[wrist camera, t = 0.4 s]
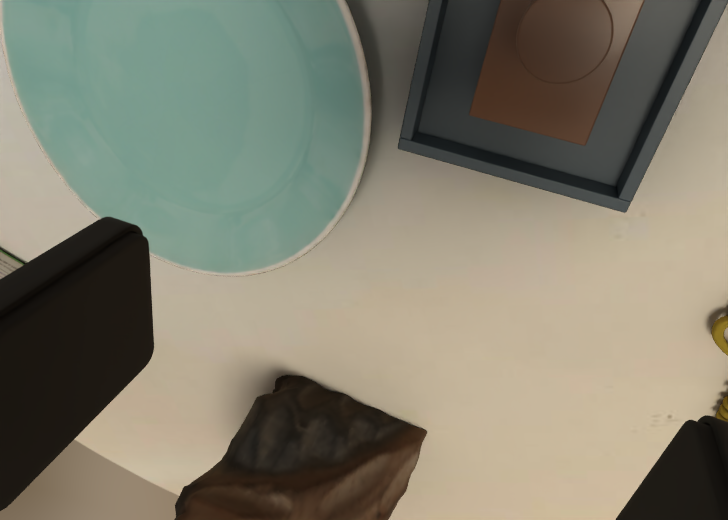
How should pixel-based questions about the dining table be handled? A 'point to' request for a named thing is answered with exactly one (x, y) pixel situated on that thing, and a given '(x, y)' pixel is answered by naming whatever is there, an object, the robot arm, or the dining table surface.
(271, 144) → the plate
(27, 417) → the robot arm
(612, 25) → the rubber stamp
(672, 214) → the dining table surface
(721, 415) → the key
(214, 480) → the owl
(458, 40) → the tray
